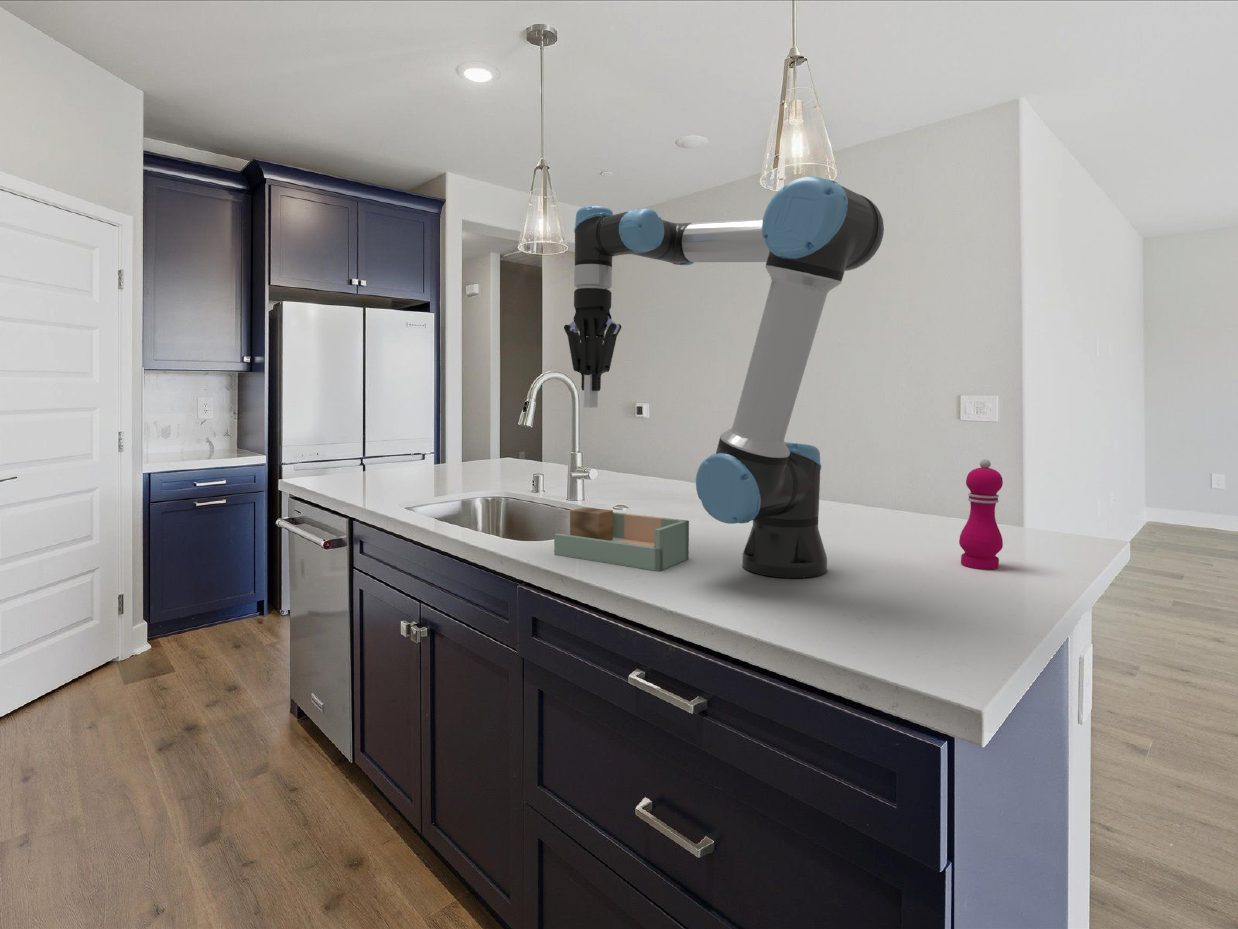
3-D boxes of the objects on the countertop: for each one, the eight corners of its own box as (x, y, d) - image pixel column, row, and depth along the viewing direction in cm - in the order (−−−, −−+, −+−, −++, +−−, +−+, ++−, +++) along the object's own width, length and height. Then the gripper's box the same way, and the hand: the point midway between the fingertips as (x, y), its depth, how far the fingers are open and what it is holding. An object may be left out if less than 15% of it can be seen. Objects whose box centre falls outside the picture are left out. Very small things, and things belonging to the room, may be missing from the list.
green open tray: (688, 558, 132) (688, 520, 132) (659, 571, 123) (659, 530, 122) (587, 543, 145) (587, 509, 145) (554, 554, 136) (554, 517, 135)
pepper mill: (1007, 571, 123) (1014, 461, 121) (964, 569, 125) (970, 460, 123) (993, 561, 130) (1000, 457, 128) (953, 560, 132) (958, 457, 130)
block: (612, 539, 138) (612, 510, 137) (598, 544, 134) (598, 513, 133) (584, 535, 142) (584, 507, 141) (570, 540, 137) (570, 510, 137)
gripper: (630, 289, 136) (627, 408, 139) (578, 293, 143) (576, 405, 146) (608, 284, 130) (606, 409, 133) (555, 288, 137) (554, 406, 140)
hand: (590, 407), depth 139 cm, fingers closed
